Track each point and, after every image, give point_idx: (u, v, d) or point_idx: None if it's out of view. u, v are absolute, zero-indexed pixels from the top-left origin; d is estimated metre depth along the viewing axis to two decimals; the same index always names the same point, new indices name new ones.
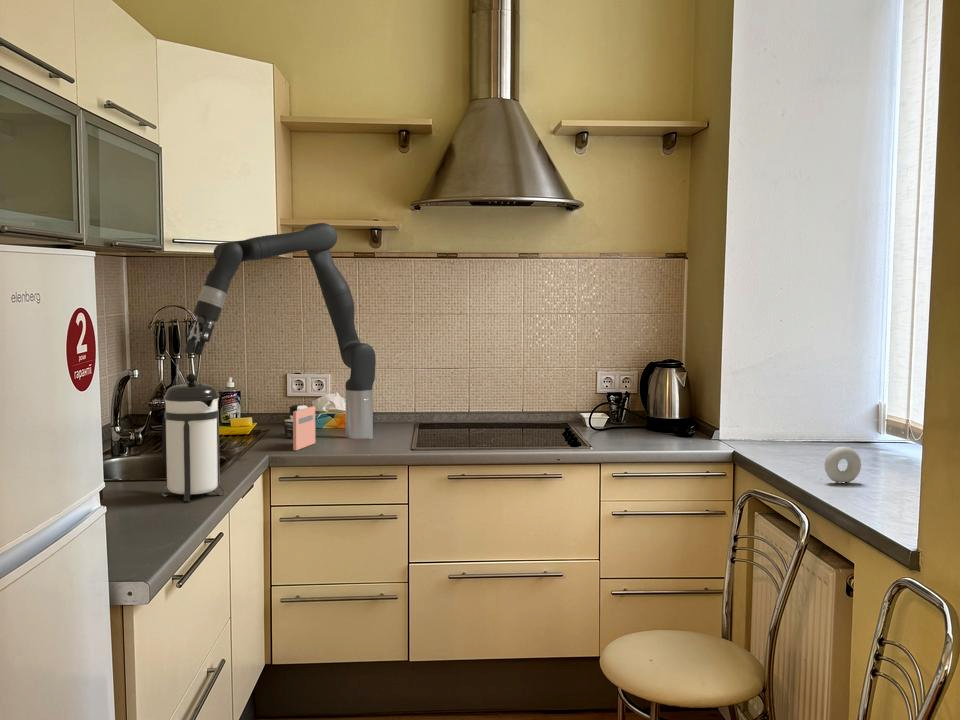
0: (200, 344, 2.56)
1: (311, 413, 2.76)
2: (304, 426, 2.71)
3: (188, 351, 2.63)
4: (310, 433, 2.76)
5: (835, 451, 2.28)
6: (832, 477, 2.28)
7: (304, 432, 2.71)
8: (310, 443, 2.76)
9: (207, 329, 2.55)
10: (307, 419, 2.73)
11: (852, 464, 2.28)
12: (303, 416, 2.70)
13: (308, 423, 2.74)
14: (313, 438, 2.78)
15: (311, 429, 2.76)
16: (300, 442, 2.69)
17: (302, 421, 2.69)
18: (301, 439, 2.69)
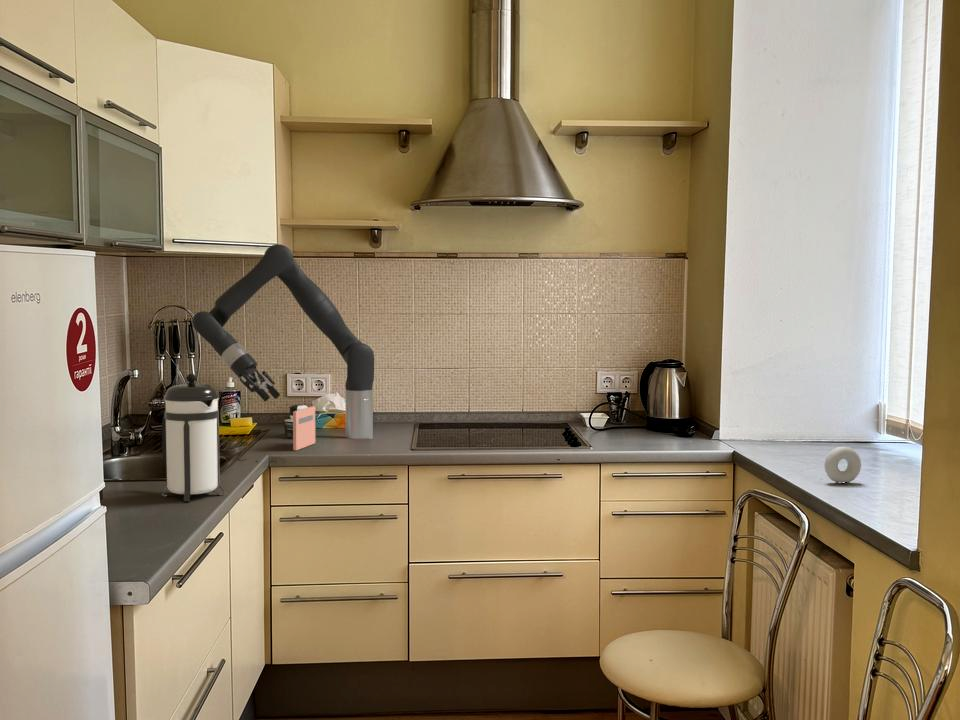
0: (259, 393, 2.70)
1: (311, 413, 2.76)
2: (304, 426, 2.71)
3: (276, 396, 2.77)
4: (310, 433, 2.76)
5: (835, 451, 2.28)
6: (832, 477, 2.28)
7: (304, 432, 2.71)
8: (310, 443, 2.76)
9: (246, 383, 2.69)
10: (307, 419, 2.73)
11: (852, 464, 2.28)
12: (303, 416, 2.70)
13: (308, 423, 2.74)
14: (313, 438, 2.78)
15: (311, 429, 2.76)
16: (300, 442, 2.69)
17: (302, 421, 2.69)
18: (301, 439, 2.69)
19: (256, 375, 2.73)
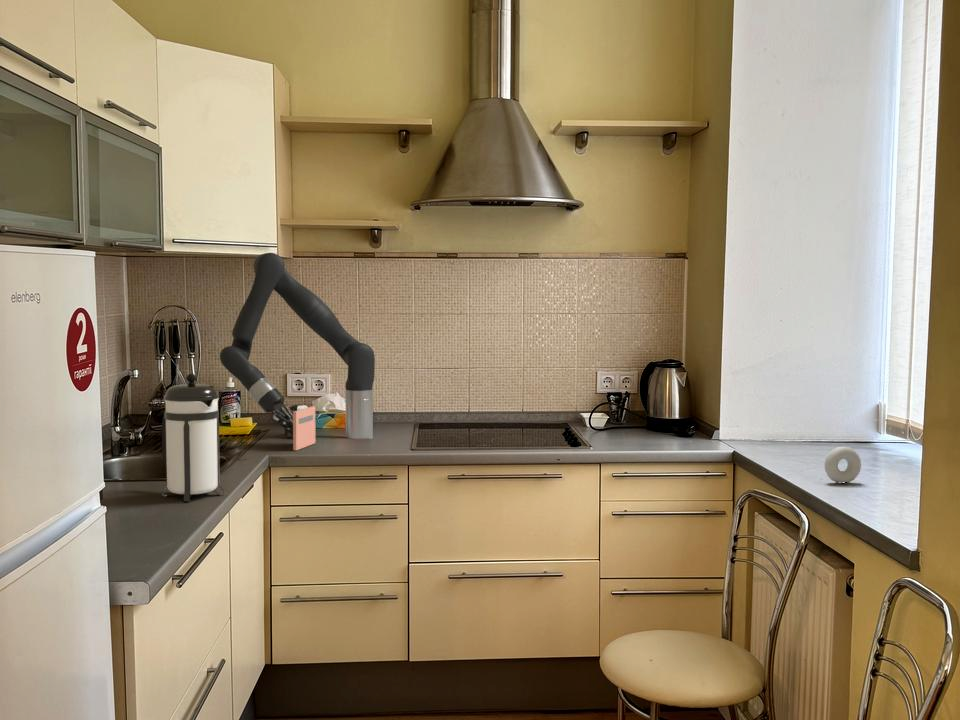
0: (292, 429, 2.72)
1: (311, 413, 2.76)
2: (304, 426, 2.71)
3: None
4: (311, 433, 2.76)
5: (835, 451, 2.28)
6: (832, 477, 2.28)
7: (304, 432, 2.71)
8: (310, 443, 2.76)
9: (279, 422, 2.69)
10: (307, 419, 2.73)
11: (852, 464, 2.28)
12: (303, 416, 2.70)
13: (308, 423, 2.74)
14: (313, 438, 2.78)
15: (311, 429, 2.76)
16: (300, 442, 2.69)
17: (302, 421, 2.69)
18: (301, 439, 2.69)
19: (285, 411, 2.72)
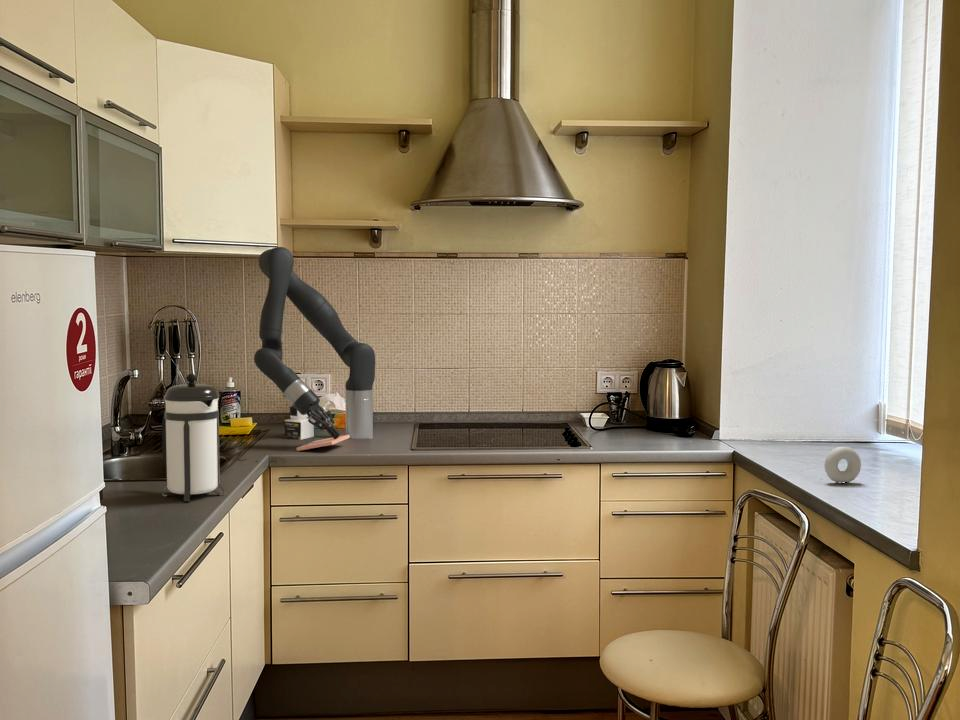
0: (328, 431, 2.69)
1: None
2: None
3: None
4: None
5: (835, 451, 2.28)
6: (832, 477, 2.28)
7: None
8: None
9: (316, 423, 2.66)
10: None
11: (851, 464, 2.28)
12: None
13: None
14: None
15: None
16: None
17: None
18: None
19: (321, 412, 2.69)
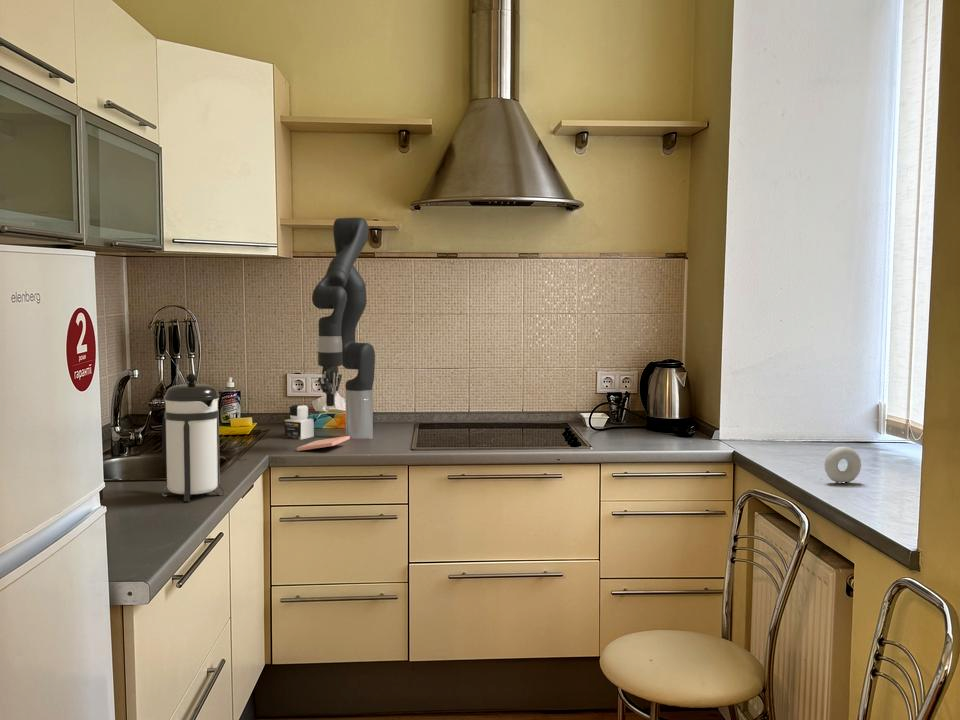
0: (327, 396, 2.67)
1: None
2: None
3: None
4: None
5: (835, 451, 2.28)
6: (832, 477, 2.28)
7: None
8: None
9: (322, 385, 2.64)
10: None
11: (852, 464, 2.28)
12: None
13: None
14: None
15: None
16: None
17: None
18: None
19: (334, 377, 2.66)
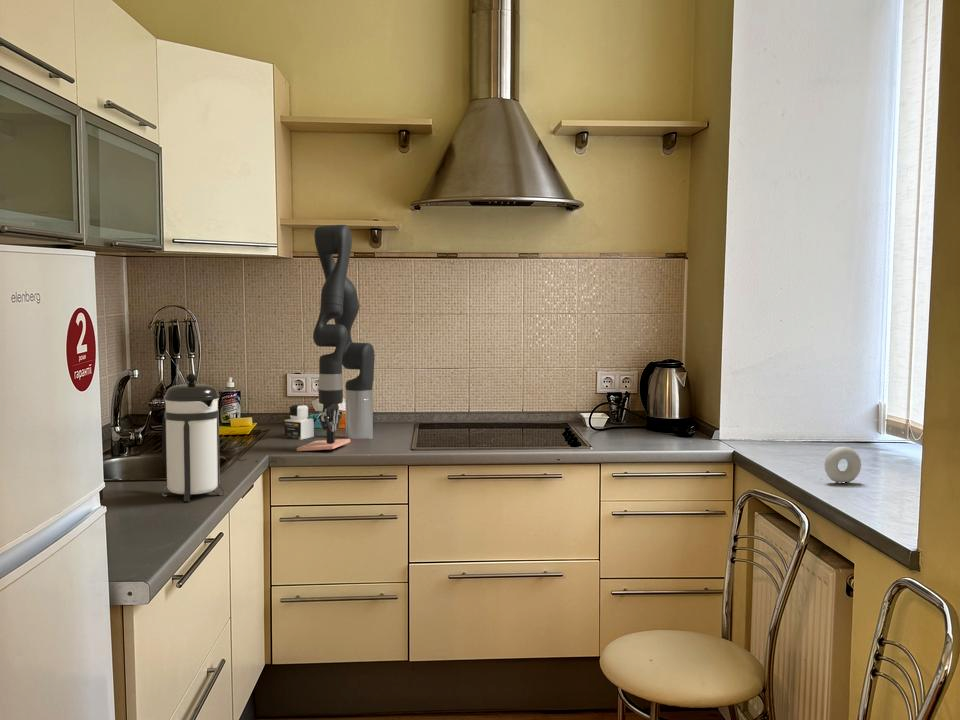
0: (328, 433, 2.68)
1: None
2: None
3: None
4: None
5: (835, 451, 2.28)
6: (832, 477, 2.28)
7: None
8: None
9: (323, 423, 2.64)
10: None
11: (852, 464, 2.28)
12: None
13: None
14: None
15: None
16: None
17: None
18: None
19: (334, 415, 2.67)
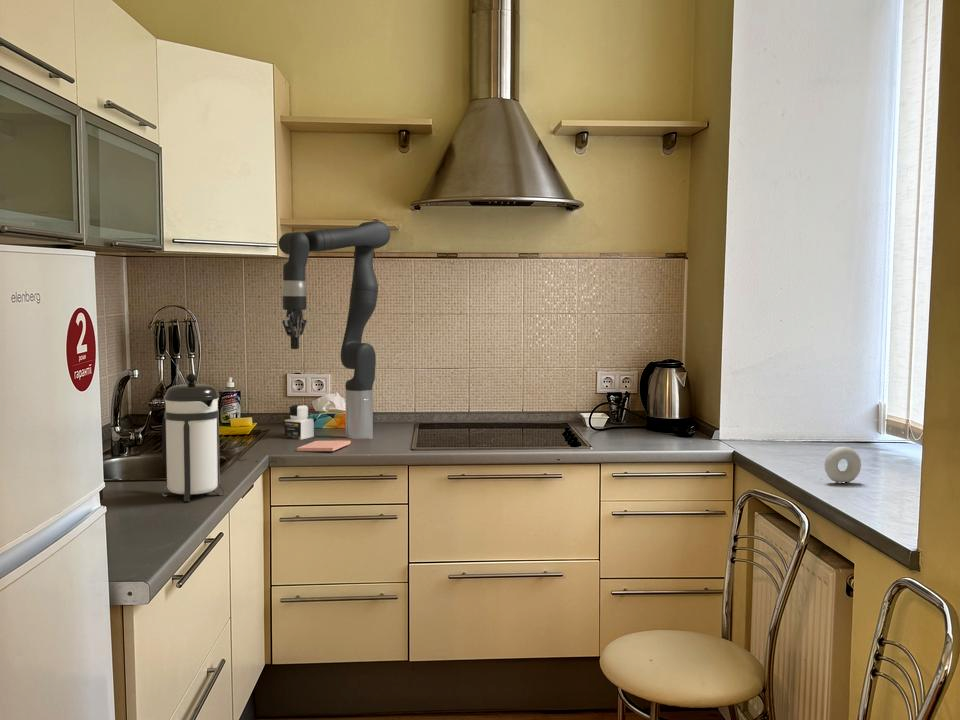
0: (292, 339, 2.75)
1: None
2: None
3: None
4: None
5: (835, 451, 2.28)
6: (832, 477, 2.28)
7: None
8: None
9: (286, 327, 2.72)
10: None
11: (852, 464, 2.28)
12: None
13: None
14: None
15: None
16: None
17: None
18: None
19: (298, 321, 2.75)
